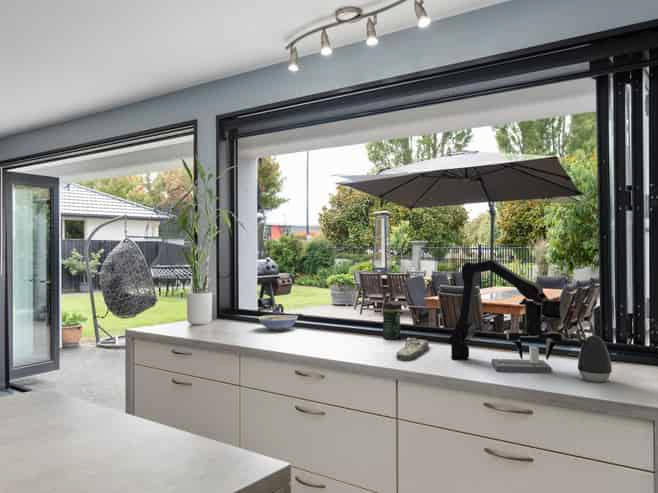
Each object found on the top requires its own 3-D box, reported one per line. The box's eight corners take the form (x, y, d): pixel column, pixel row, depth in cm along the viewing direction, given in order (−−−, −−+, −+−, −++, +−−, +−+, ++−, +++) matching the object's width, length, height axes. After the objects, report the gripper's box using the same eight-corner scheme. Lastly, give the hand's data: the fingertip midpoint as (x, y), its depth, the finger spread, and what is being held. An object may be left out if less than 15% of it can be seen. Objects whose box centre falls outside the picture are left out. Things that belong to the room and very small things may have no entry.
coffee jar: (394, 340, 250) (393, 302, 250) (380, 338, 255) (379, 302, 255) (403, 337, 258) (402, 301, 258) (390, 335, 263) (389, 300, 263)
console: (496, 371, 184) (496, 365, 184) (491, 364, 196) (491, 358, 196) (551, 372, 181) (551, 366, 181) (543, 365, 193) (543, 359, 193)
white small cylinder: (531, 363, 186) (531, 348, 186) (529, 361, 190) (529, 346, 190) (539, 363, 185) (538, 348, 185) (536, 361, 189) (536, 346, 189)
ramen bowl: (251, 332, 280) (250, 318, 280) (263, 326, 302) (263, 312, 302) (295, 333, 275) (294, 318, 276) (303, 326, 298) (303, 313, 298)
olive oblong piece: (390, 363, 206) (414, 367, 202) (390, 351, 206) (414, 354, 202) (411, 343, 238) (432, 346, 234) (411, 332, 238) (432, 335, 234)
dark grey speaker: (571, 377, 174) (570, 333, 175) (599, 376, 175) (598, 332, 175) (588, 385, 164) (587, 338, 164) (618, 383, 165) (618, 337, 165)
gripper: (554, 314, 194) (555, 355, 194) (503, 314, 197) (504, 354, 197) (562, 318, 183) (563, 361, 183) (508, 318, 186) (509, 360, 186)
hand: (534, 359), depth 188 cm, fingers open, 9 cm apart
